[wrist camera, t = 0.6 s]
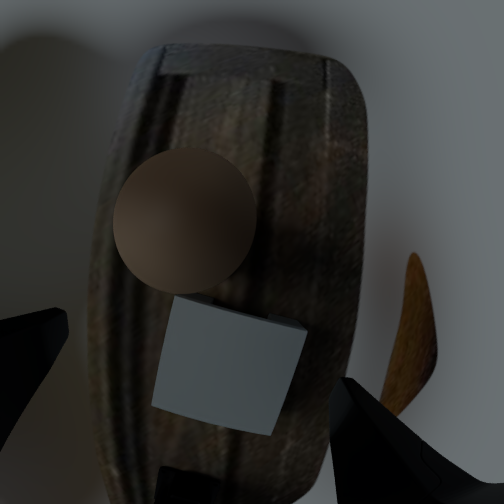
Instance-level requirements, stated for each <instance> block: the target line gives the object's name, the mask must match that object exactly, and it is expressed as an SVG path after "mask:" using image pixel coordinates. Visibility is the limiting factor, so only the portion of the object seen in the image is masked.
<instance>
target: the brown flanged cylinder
mask: <svg viewBox="0 0 504 504" xmlns="http://www.w3.org/2000/svg"><path fill="white" fill-rule="evenodd" d="M256 220H257V216H256V206H255V201H254V197H253V194H252V191H251V189H250V187H249V185H248V183H247V181H246V179H245V178H244V176H243V175H242V174H241V172H240V171H239V170H238V169H237V168H236V167H235V166H234V165H233V164H232V163H230V162H229V161H228V160H226V159H225V158H223V157H222V156H220V155H218V154H215V153H213V152H210V151H207V150H204V149H198V148H177V149H172V150H168V151H165V152H162V153H159V154H157V155H155V156H153V157H151V158H150V159H148V160H147V161H145V162H144V163H142V164H141V165H140V166H139V167H138V168H137V169H136V170H135V171H134V172H133V173H132V174H131V175H130V176H129V178H128V179H127V181H126V182H125V184H124V185H123V187H122V189H121V191H120V193H119V196H118V199H117V201H116V205H115V209H114V217H113V230H114V238H115V242H116V246H117V248H118V251H119V253H120V256H121V257H122V259H123V261H124V263H125V264H126V265H127V267H128V268H129V269H130V271H131V272H132V273H133V274H134V275H135V276H136V277H137V278H139V279H140V280H141V281H143V282H144V283H146V284H147V285H149V286H151V287H153V288H155V289H158V290H160V291H164V292H168V293H175V294H190V293H196V292H201V291H204V290H207V289H209V288H212V287H214V286H216V285H218V284H219V283H221V282H222V281H224V280H225V279H227V278H228V277H229V276H230V275H231V274H233V273H234V272H235V270H236V269H237V268H238V267H239V266H240V265H241V263H242V262H243V260H244V259H245V257H246V256H247V254H248V252H249V250H250V248H251V245H252V242H253V239H254V235H255V230H256Z"/></svg>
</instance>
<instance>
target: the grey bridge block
mask: <svg viewBox="0 0 504 504" xmlns="http://www.w3.org/2000/svg"><path fill="white" fill-rule="evenodd" d="M213 300H214V298H212V297H208V296H205V295H201V294H198V293H190V294H177V295H175V297H174V301H173V305H172V310H171V314H170V318H169V322H168V327H167V331H166V335H165V340H164V344H163V349H162V354H161V358H160V363H159V368H158V373H157V378H156V383H155V389H154V394H153V399H152V406H154V407H157V408H160V409H163V410H166V411H169V412H173V413H176V414H179V415H182V416H186V417H189V418H193V419H196V420H200V421H204V422H208V423H211V424H215V425H220V426H224V427H228V428H233V429H237V430H242V431H247V432H253V433H258V434H264V435H270V436H271V433H272V431H273V428H274V426H275V423H276V421H277V418H278V416H279V413H280V410H281V408H282V405H283V402H284V400H285V397H286V394H287V391H288V389H289V386H290V383H291V380H292V377H293V375H294V372H295V369H296V366H297V363H298V360H299V357H300V354H301V351H302V348H303V345H304V342H305V339H306V335H307V332H308V331H307V330H306V329H305V328H304V327H303V326H302V325H301V324H300V323H299V322H298V321H297V320H295V319H291V318H287V317H282V316H279V315H275V314H271V313H269V315H268V318H267V319H265V318H261V317H257V316H253V315H249V314H245V313H242V312H238V311H234V310H231V309H227V308H223V307H220V306H216V305H213Z"/></svg>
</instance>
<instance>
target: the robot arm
mask: <svg viewBox="0 0 504 504" xmlns="http://www.w3.org/2000/svg"><path fill="white" fill-rule="evenodd" d="M68 335H69V329H68V320H67V313H66V311H64V310H62V309H60V308H57V307H54V308H50V309H45V310H41V311H37V312H33V313H28V314H24V315H20V316H16V317H11V318H7V319H3V320H0V451H1V449H2V447H3V446H4V444H5V442H6V440H7V438H8V436H9V435H10V433H11V431H12V429H13V428H14V426H15V424H16V422H17V421H18V419H19V417H20V416H21V414H22V412H23V411H24V409H25V408H26V406H27V404H28V403H29V401H30V399H31V398H32V396H33V395H34V393H35V392H36V390H37V389H38V387H39V386H40V384H41V382H42V381H43V380H44V378H45V377H46V375H47V374H48V372H49V370H50V369H51V367H52V365H53V363H54V361H55V360H56V358H57V356H58V354H59V352H60V350H61V349H62V347H63V345H64V343H65V342H66V340H67V338H68ZM329 428H330V446H331V453H332V460H333V469H334V477H335V485H336V494H337V503H338V504H504V483H497V484H494V483H486V482H482V481H479V480H478V479H476V478H474V477H473V476H471V475H469V474H468V473H467V472H465V471H464V470H462V469H461V468H459V467H458V466H456V465H455V464H453V463H452V462H450V461H449V460H448V459H446V458H445V457H443V456H442V455H441V454H439V453H438V452H437V451H436V450H434V449H433V448H432V447H431V446H429V445H428V444H427V443H426V442H425V441H423V440H422V439H421V438H420V437H419V436H418V435H417V434H415V433H414V432H413V431H412V430H411V429H410V428H408V427H407V426H406V425H405V424H404V423H403V422H401V421H400V420H399V419H398V418H397V417H396V416H395V415H393V414H392V413H391V412H390V411H389V410H388V409H387V408H385V407H384V406H383V405H382V404H381V403H380V402H379V401H378V400H376V399H375V398H374V397H373V396H372V395H371V394H369V392H367V391H366V390H365V389H364V388H363V387H362V386H361V385H360V384H358V383H357V382H356V381H355V380H354V379H353V378H348V377H341V378H339V379H338V381H337V383H336V385H335V387H334V389H333V391H332V392H331V394H330V397H329ZM163 470H165V471H163ZM219 488H220V481H218V480H214V479H210V478H205V477H201V476H197V475H193V474H189V473H185V472H182V471H178V470H175V469H171V468H168V467H164V466H161V467H160V469H159V473H158V479H157V484H156V490H155V496H154V499H155V502H154V504H213V503H214V501H215V498H216V496H217V493H218V490H219Z"/></svg>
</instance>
